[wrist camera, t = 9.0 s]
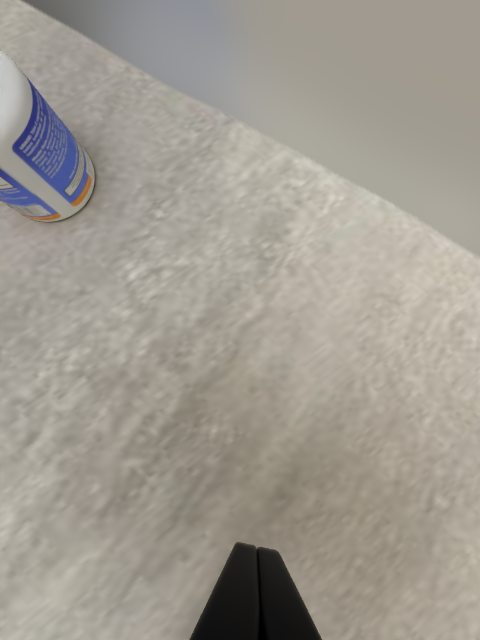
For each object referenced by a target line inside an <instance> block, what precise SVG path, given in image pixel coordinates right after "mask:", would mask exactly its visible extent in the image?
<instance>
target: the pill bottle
mask: <svg viewBox="0 0 480 640" xmlns="http://www.w3.org/2000/svg"><path fill="white" fill-rule="evenodd" d="M94 181H95V175H94V168H93V164H92V162H91V160H90V158H89V156H88V154H87V153H86V152H85V150H84V149H83V148H82V146H81V145H80V144H79V142H78V141H77V140H76V139H75V137H74V136H73V135H72V134H71V132H70V131H69V130H68V129H67V127H66V126H65V125H64V124H63V122H62V121H61V120H60V119H59V117H58V116H57V115H56V113H55V112H54V111H53V110H52V108H51V107H50V106H49V105H48V103H47V102H46V101H45V100H44V98H43V97H42V96H41V95H40V93H39V92H38V91H37V89H36V88H35V87H34V86H33V84H32V83H31V82H30V80H29V79H28V78H27V77H26V75H25V74H24V73H23V72H22V71H21V69H20V68H19V67H18V66H17V64H16V63H15V62H14V61H13V60H12V59H11V58H10V57H9V56H8V55H6V54H5V53H4V52H3V51H1V50H0V200H1V201H2V202H4V203H5V204H7V205H9V206H10V207H11V208H13V209H15V210H16V211H18V212H19V213H21V214H22V215H24V216H26V217H29V218H31V219H34V220H37V221H42V222H53V221H58V220H62V219H65V218H67V217H70V216H71V215H73V214H75V213H76V212H78V211H79V210H80V209H81V208H82V207H83V206H84V205H85V204H86V202H87V201H88V199H89V198H90V196H91V193H92V190H93V187H94Z"/></svg>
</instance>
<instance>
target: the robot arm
mask: <svg viewBox="0 0 480 640" xmlns="http://www.w3.org/2000/svg"><path fill="white" fill-rule="evenodd" d="M189 640H322V638H321V636H320V634H319V632H318V630H317V628H316V626H315V624H314V622H313V620H312V618H311V616H310V614H309V612H308V610H307V608H306V606H305V604H304V602H303V600H302V598H301V596H300V594H299V592H298V590H297V588H296V586H295V584H294V582H293V580H292V578H291V576H290V574H289V572H288V570H287V568H286V566H285V564H284V562H283V559H282V557H281V555H280V554H279V552H278V551H276V550H273V549H269V548H264V547H258V548H257V549H256V547H255V546H254V545H250V544H245V543H241V542H237V543H236V544H235V545H234V547H233V549H232V551H231V553H230V555H229V558H228V560H227V562H226V564H225V566H224V568H223V570H222V572H221V574H220V576H219V579H218V581H217V583H216V585H215V587H214V589H213V591H212V593H211V595H210V597H209V600H208V602H207V604H206V606H205V608H204V610H203V612H202V614H201V616H200V618H199V621H198V623H197V625H196V627H195V629H194V631H193V633H192V635H191V637H190V639H189Z"/></svg>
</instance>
